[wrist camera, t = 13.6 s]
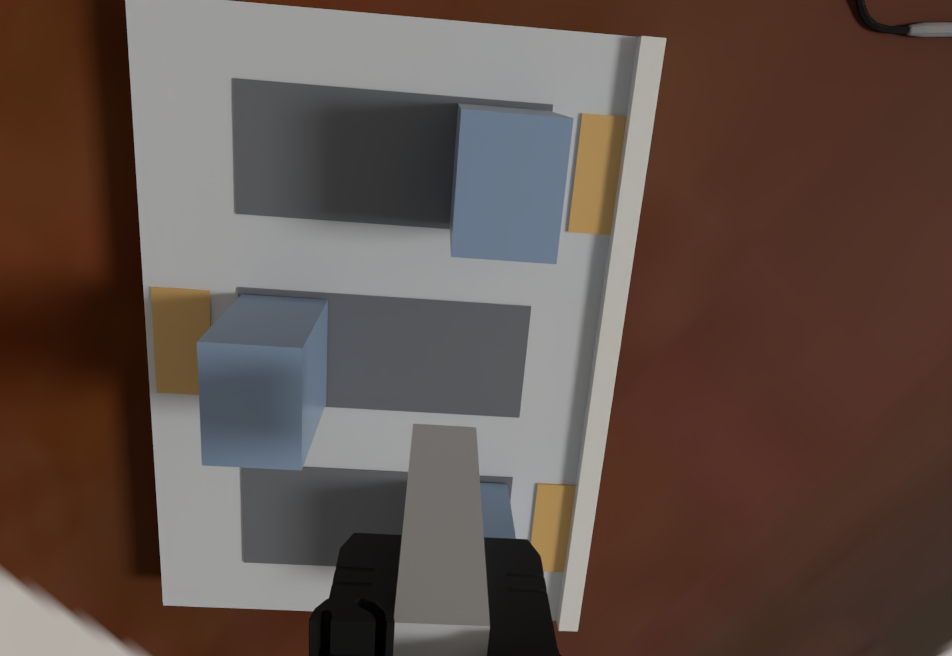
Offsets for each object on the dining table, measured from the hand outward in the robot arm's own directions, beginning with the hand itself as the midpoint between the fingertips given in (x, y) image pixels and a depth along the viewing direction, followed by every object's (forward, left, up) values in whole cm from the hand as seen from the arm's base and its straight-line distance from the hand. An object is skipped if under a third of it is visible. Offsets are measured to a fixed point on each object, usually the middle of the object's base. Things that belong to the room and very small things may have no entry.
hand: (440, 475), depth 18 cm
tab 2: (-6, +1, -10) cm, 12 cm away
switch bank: (+1, -2, -12) cm, 12 cm away
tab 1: (+1, -6, -10) cm, 11 cm away
